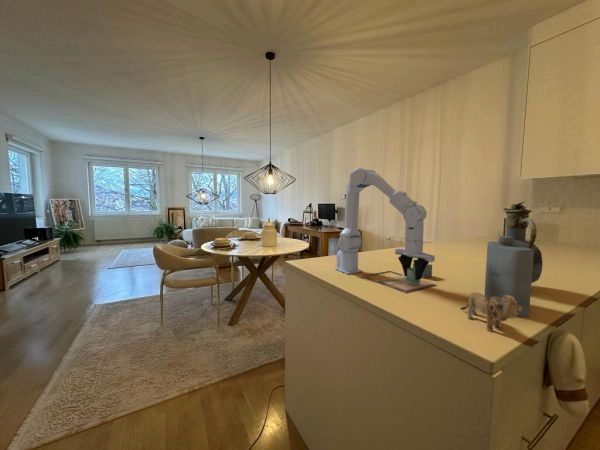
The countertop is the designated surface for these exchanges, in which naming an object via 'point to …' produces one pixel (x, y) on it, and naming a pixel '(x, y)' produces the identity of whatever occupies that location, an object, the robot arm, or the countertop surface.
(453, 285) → the countertop surface
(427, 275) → the die
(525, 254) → the flask
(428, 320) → the countertop surface
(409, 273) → the teal flanged knob
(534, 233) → the pitcher
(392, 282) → the board
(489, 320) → the lion figurine
